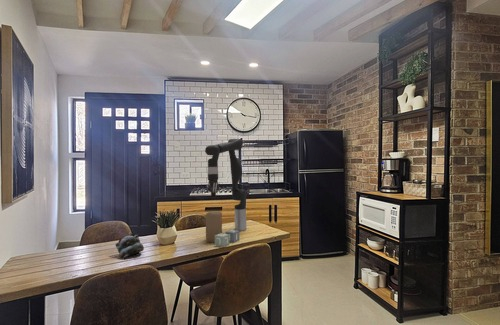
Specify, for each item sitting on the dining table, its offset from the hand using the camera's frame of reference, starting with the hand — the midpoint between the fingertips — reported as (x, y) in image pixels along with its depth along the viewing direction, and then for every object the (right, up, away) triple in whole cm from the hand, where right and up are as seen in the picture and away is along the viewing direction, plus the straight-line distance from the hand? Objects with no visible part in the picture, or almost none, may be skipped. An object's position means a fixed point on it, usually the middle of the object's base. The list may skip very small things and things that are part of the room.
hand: (213, 197), depth 209 cm
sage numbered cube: (+7, -31, -12) cm, 34 cm away
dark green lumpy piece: (-48, -32, -30) cm, 65 cm away
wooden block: (+1, -31, 0) cm, 31 cm away
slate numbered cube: (+14, -31, -2) cm, 34 cm away
